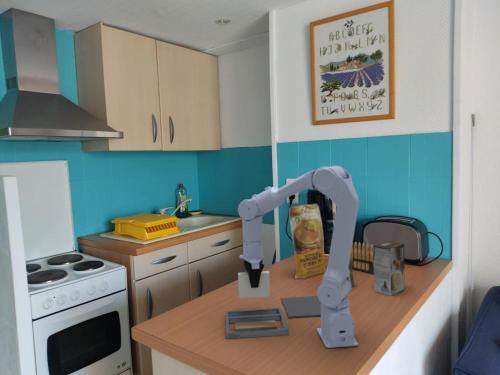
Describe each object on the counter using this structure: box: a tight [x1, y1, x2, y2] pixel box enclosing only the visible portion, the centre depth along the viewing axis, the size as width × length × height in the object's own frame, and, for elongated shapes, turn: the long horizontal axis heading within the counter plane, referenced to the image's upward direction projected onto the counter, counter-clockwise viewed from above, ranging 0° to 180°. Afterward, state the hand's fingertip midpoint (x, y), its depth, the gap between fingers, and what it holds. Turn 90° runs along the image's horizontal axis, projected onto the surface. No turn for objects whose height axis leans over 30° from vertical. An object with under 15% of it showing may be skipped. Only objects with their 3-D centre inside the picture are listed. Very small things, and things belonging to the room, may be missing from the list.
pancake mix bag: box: [288, 203, 326, 280], centre depth 140 cm, size 7×19×28 cm, turn 125°
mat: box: [280, 295, 321, 319], centre depth 110 cm, size 14×14×1 cm
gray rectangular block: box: [237, 270, 271, 300], centre depth 103 cm, size 2×9×7 cm, turn 95°
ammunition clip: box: [350, 241, 374, 275], centre depth 143 cm, size 11×2×12 cm, turn 43°
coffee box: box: [373, 241, 405, 297], centre depth 121 cm, size 9×6×16 cm
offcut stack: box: [233, 320, 280, 332], centre depth 96 cm, size 4×12×2 cm, turn 94°
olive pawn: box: [348, 256, 355, 290], centre depth 127 cm, size 6×6×11 cm
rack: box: [225, 307, 290, 340], centre depth 99 cm, size 14×17×2 cm
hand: (254, 285), depth 103 cm, fingers closed on gray rectangular block, 2 cm apart
